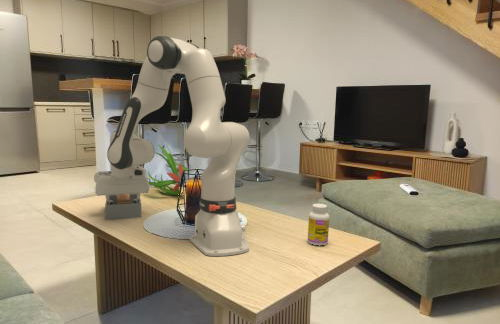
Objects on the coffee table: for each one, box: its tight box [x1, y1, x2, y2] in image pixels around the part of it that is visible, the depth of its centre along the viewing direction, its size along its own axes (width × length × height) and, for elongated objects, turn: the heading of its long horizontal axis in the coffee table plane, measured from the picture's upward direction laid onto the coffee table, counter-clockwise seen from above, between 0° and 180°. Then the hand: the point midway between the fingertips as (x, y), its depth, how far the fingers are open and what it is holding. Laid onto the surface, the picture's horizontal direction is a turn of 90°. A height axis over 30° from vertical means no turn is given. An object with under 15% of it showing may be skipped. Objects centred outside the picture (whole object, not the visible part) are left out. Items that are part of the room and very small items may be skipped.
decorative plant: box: [147, 144, 190, 197], centre depth 182 cm, size 26×25×30 cm
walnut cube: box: [117, 200, 130, 205], centre depth 147 cm, size 5×5×5 cm
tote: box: [104, 194, 142, 221], centre depth 151 cm, size 17×13×6 cm
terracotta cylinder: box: [117, 194, 130, 200], centre depth 154 cm, size 5×5×7 cm
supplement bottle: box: [307, 203, 330, 246], centre depth 121 cm, size 7×7×13 cm
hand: (123, 204), depth 147 cm, fingers open, 8 cm apart
